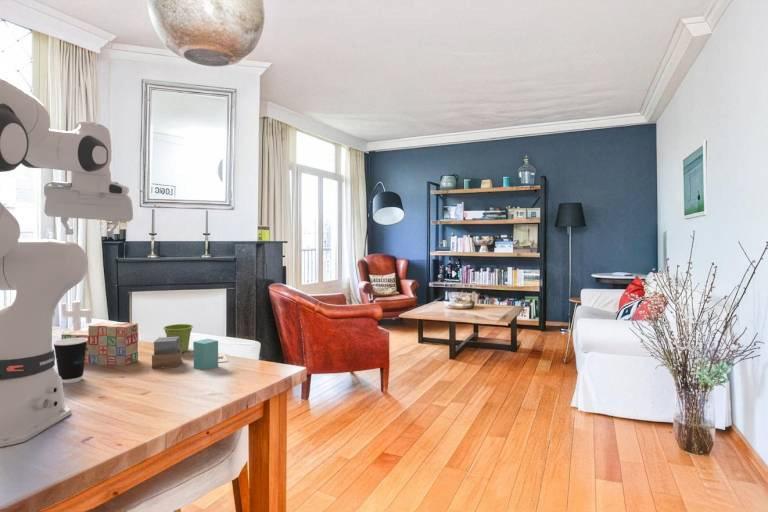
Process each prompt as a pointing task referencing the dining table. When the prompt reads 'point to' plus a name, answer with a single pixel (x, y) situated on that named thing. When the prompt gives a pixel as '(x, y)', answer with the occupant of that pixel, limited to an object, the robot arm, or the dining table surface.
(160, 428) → the dining table surface
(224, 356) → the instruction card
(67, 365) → the dixie cup
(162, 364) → the grey-brown block
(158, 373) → the dining table surface
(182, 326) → the plant pot
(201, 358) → the teal brick
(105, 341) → the stack of blocks
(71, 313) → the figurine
